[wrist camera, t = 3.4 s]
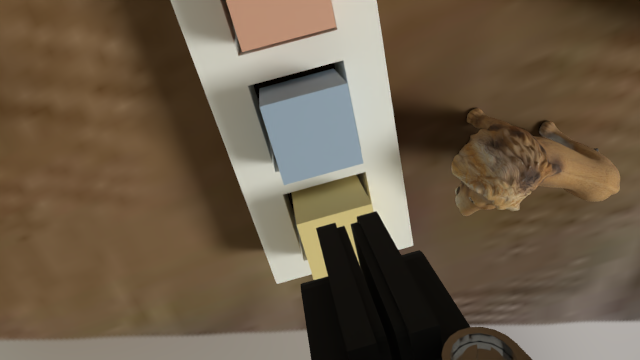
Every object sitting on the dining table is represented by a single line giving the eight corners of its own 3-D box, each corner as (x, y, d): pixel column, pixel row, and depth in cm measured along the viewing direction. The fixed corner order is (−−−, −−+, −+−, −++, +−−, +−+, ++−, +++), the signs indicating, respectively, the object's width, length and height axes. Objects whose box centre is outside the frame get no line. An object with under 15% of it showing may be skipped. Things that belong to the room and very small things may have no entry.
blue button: (259, 88, 22) (259, 106, 19) (333, 68, 22) (347, 83, 19) (280, 156, 24) (283, 185, 21) (348, 138, 24) (363, 163, 21)
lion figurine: (409, 170, 29) (466, 238, 21) (424, 101, 27) (493, 148, 19) (578, 176, 32) (686, 238, 24) (605, 113, 30) (733, 158, 22)
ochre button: (291, 191, 25) (296, 224, 22) (355, 174, 25) (371, 203, 22) (307, 244, 27) (314, 282, 24) (367, 227, 27) (383, 263, 24)
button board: (159, -70, 21) (139, -82, 17) (339, -116, 21) (355, -138, 17) (274, 250, 31) (276, 283, 27) (395, 216, 31) (413, 245, 27)
